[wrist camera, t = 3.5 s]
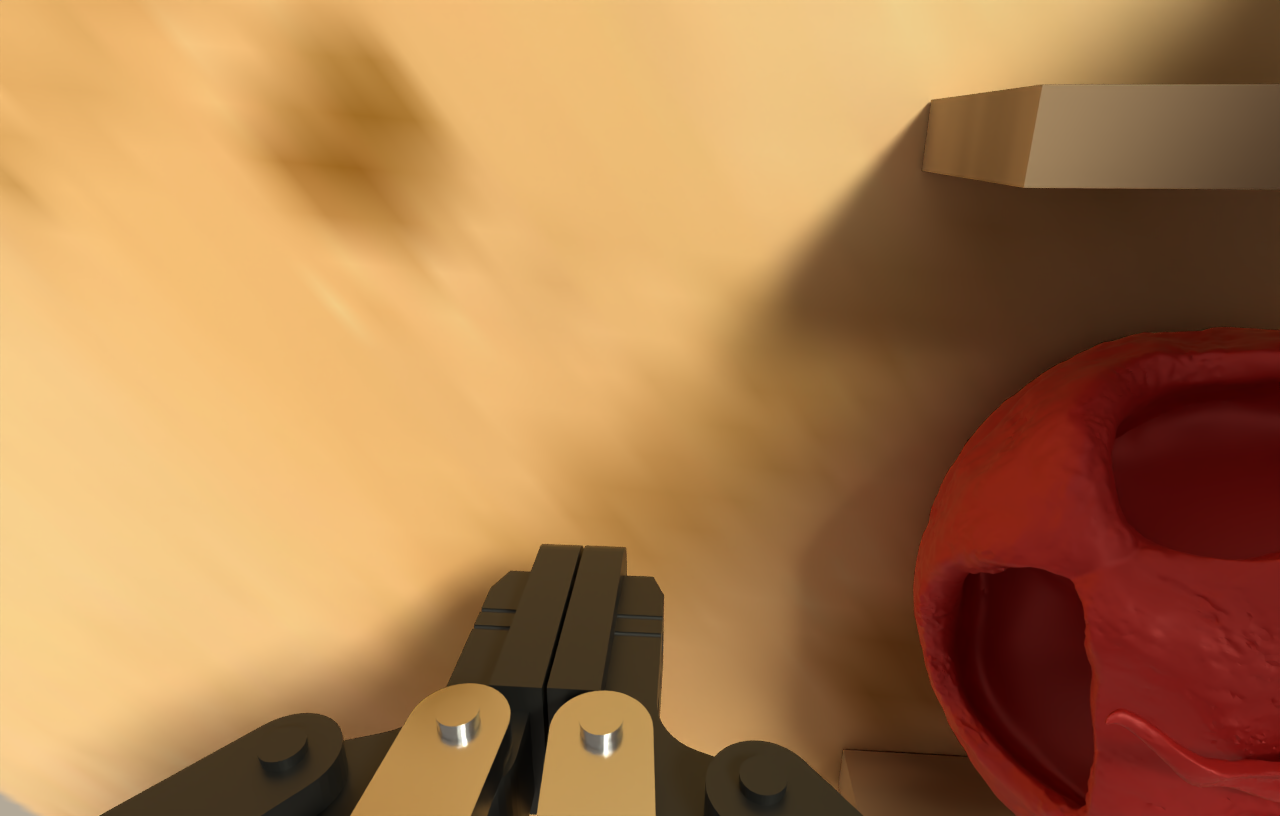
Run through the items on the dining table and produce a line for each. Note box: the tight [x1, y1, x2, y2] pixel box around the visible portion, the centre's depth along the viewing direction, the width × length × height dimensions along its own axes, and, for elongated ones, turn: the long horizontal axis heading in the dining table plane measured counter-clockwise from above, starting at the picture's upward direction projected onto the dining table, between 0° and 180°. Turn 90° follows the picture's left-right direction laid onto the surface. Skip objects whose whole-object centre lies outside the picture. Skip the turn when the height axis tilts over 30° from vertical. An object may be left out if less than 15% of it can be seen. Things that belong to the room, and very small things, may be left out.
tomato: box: [913, 327, 1280, 816], centre depth 11 cm, size 10×10×9 cm
